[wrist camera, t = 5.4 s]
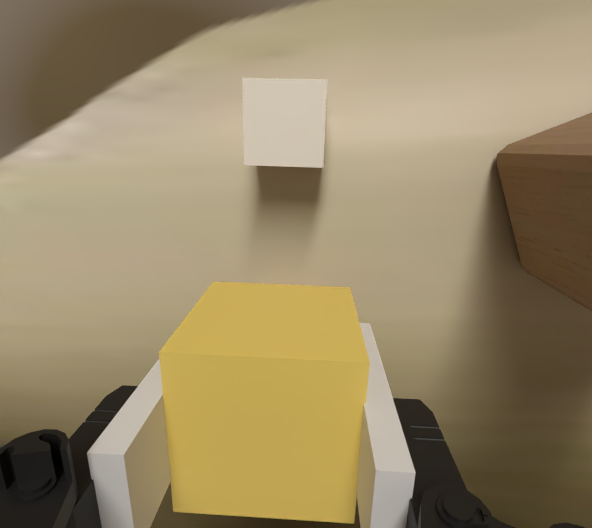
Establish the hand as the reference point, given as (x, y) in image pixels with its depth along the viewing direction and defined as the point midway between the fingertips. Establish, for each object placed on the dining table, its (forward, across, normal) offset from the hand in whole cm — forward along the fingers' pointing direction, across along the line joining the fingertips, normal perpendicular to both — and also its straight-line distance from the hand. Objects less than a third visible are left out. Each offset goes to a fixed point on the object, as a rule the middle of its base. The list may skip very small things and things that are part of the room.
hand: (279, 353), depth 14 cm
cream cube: (+17, +1, -9) cm, 19 cm away
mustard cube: (+1, 0, 0) cm, 1 cm away
